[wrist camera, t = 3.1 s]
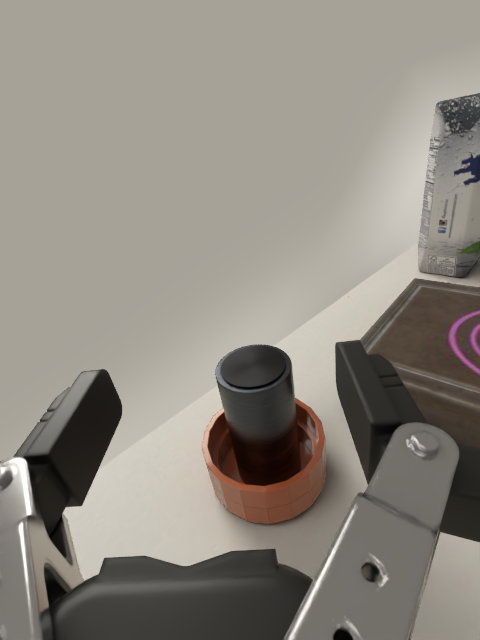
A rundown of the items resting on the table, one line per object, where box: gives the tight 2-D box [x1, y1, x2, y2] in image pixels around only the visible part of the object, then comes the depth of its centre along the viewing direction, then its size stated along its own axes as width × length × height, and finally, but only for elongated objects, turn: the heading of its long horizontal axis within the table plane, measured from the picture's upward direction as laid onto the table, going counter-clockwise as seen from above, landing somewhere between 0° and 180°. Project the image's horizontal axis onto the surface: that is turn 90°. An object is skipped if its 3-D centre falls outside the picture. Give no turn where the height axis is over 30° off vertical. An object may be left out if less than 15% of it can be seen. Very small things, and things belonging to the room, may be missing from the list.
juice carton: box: [418, 93, 480, 277], centre depth 53 cm, size 9×10×27 cm
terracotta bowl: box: [202, 398, 326, 524], centre depth 29 cm, size 10×10×4 cm
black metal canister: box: [215, 345, 301, 486], centre depth 27 cm, size 6×6×11 cm
